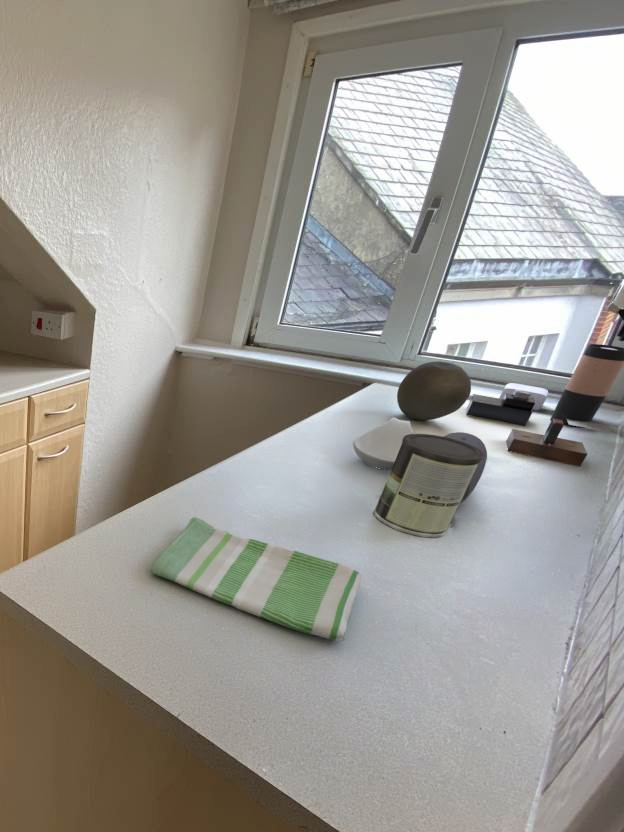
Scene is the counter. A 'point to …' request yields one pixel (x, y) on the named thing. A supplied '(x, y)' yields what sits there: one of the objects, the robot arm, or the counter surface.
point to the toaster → (501, 409)
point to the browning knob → (553, 431)
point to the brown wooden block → (546, 447)
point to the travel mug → (589, 383)
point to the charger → (535, 392)
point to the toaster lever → (521, 394)
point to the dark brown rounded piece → (433, 390)
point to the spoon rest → (382, 443)
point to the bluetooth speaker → (477, 475)
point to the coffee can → (427, 484)
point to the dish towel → (262, 579)
